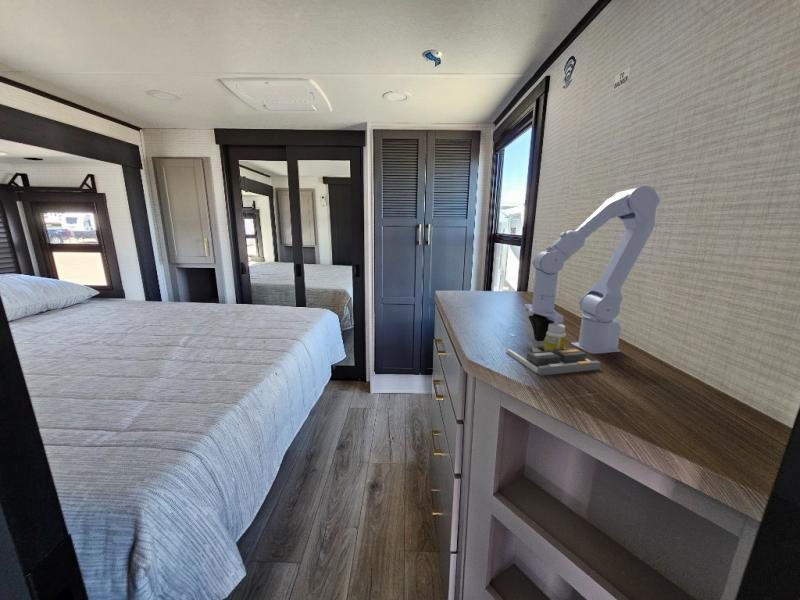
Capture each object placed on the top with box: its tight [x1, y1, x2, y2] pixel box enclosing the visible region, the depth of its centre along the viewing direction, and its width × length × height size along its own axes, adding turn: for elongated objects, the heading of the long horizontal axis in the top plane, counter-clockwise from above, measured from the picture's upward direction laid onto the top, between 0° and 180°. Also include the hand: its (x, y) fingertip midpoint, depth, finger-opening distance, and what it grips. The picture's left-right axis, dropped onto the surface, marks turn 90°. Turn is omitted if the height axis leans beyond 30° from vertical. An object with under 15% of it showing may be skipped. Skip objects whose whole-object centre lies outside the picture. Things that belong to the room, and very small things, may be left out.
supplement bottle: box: [543, 323, 567, 352], centre depth 82 cm, size 5×5×8 cm
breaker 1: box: [526, 350, 561, 367], centre depth 76 cm, size 6×4×3 cm, turn 102°
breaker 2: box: [553, 347, 587, 364], centre depth 78 cm, size 6×4×3 cm, turn 102°
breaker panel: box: [506, 346, 601, 376], centre depth 79 cm, size 16×14×2 cm
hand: (539, 340), depth 89 cm, fingers closed
